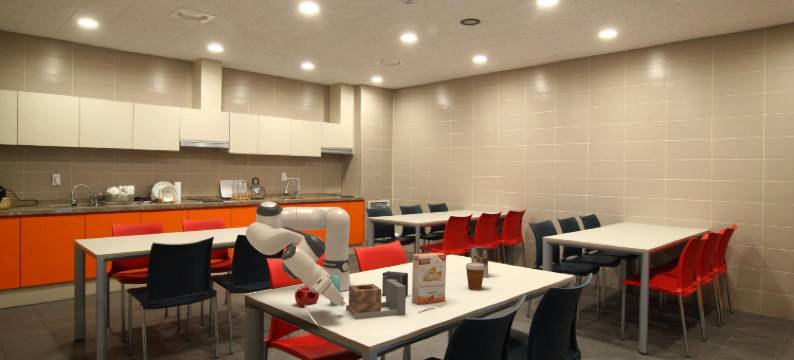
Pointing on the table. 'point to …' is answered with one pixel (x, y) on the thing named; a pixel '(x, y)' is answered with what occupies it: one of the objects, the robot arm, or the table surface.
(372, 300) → the socket block
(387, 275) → the small box
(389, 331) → the table surface
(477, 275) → the disposable coffee cup
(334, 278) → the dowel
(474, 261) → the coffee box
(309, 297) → the pomegranate
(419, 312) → the fork
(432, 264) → the cracker box
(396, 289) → the backstop
